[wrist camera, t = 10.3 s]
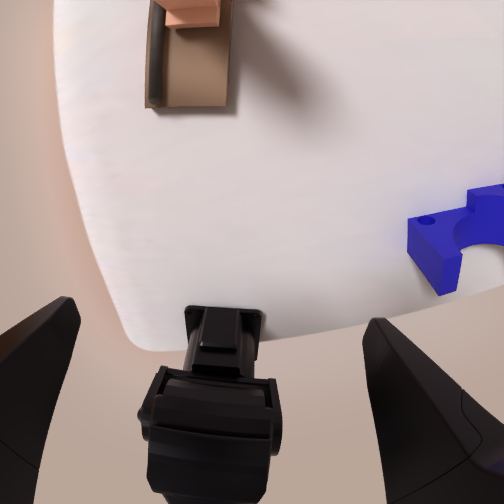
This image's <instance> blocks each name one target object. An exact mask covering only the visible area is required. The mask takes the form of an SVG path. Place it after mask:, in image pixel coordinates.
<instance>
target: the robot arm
mask: <svg viewBox="0 0 504 504" xmlns="http://www.w3.org/2000/svg"><path fill="white" fill-rule="evenodd" d="M189 311H192V312H189ZM184 314H185V322H186V330H187V338H188V349H187V353H186V358H185V362H184V367H183V370H178V369H172V368H168V367H166V366H161V367H160V369H159V371H158V373H156V375H155V377H154V379H153V381H152V384H151V386H150V388H149V390H148V393H147V395H146V397H145V399H144V402H143V405H142V407H141V408H140V409H139V411H138V414H137V417H138V419H139V420H140V422H141V426H142V435H143V439H144V440H145V441H149V443H148V445H149V446H148V467H147V480H148V482H149V484H150V486H151V489H152V490H153V492H156V493H161V494H162V495H163V496H164V498H165V499H166V501H167V502H168V504H257V503H258V502H259V501H260V499H261V498H262V497H263V495H264V494H265V492H266V485H267V481H268V473H269V465H270V457H271V456H276V455H278V452H279V450H280V446H281V440H282V412H281V406H280V400H279V395H278V389H277V384H276V379H272V378H269V379H255V378H254V361H256V360H257V355H258V346H259V337H260V328H261V318H262V314H261V312H260V311H259V310H251V309H233V308H218V307H204V306H191V305H190V306H186V308H185V311H184ZM254 315H257V316H254ZM80 324H81V317H80V314H79V312H78V309H77V306H76V304H75V301H74V299H73V298H71V297H65V296H61V297H59V298H57V299H56V300H54V301H53V302H51V303H49V304H48V305H46V306H45V307H43V308H41V309H40V310H38V311H37V312H35V313H34V314H32V315H30V316H29V317H27V318H26V319H24V320H23V321H21V322H20V323H18V324H17V325H15V326H14V327H12V328H10V329H9V330H7V331H6V332H4V333H3V334H1V335H0V504H33V502H34V496H35V489H36V483H37V479H38V473H39V468H40V463H41V459H42V454H43V450H44V446H45V441H46V438H47V434H48V430H49V426H50V423H51V419H52V416H53V413H54V409H55V406H56V402H57V399H58V396H59V393H60V390H61V387H62V384H63V381H64V378H65V375H66V372H67V370H68V367H69V363H70V360H71V357H72V352H73V349H74V345H75V341H76V338H77V334H78V331H79V328H80ZM362 345H363V353H364V361H365V369H366V379H367V388H368V393H369V398H370V403H371V408H372V412H373V418H374V423H375V428H376V434H377V439H378V445H379V451H380V457H381V463H382V470H383V477H384V483H385V491H386V499H387V504H504V424H503V423H501V422H500V421H499V420H498V419H496V418H495V417H494V416H493V415H491V414H490V413H489V412H488V411H487V410H486V409H484V408H483V407H482V406H481V405H480V404H479V403H478V402H477V401H475V400H474V399H473V398H472V397H471V396H470V395H469V394H468V393H467V392H466V391H465V390H464V389H462V388H461V387H460V386H459V385H458V384H457V383H456V382H455V381H454V380H453V379H452V378H451V377H450V376H449V375H448V374H447V373H445V372H444V371H443V370H442V369H441V368H440V367H439V366H438V365H437V364H436V363H435V362H434V361H433V360H431V359H430V358H429V357H428V356H427V355H426V354H425V353H424V352H423V351H422V350H420V349H419V348H418V347H417V346H416V345H415V344H414V343H413V342H412V341H410V340H409V339H408V338H407V337H406V336H405V335H404V334H403V333H401V332H400V331H399V330H398V329H397V328H396V327H395V326H393V325H392V324H391V323H390V322H389V321H388V320H387V319H385V318H372V319H371V320H370V322H369V324H368V327H367V329H366V331H365V334H364V336H363V341H362Z"/></svg>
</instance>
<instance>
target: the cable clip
mask: <svg viewBox="0 0 504 504" xmlns="http://www.w3.org/2000/svg"><path fill="white" fill-rule="evenodd" d="M475 244H497V245H502V246H504V184H499V185H493V186H487V187H481V188H475V189H470V190H467V205H466V207H462V208H458V209H453V210H448V211H443V212H438V213H434V214H429V215H424V216H419V217H414V218H409V219H408V242H407V252H408V254H409V255H410V256H411V258H412V259H413V260H414V262H415V263H416V264H417V266H418V267H419V269H420V270H421V271H422V273H423V274H424V275H425V277H426V278H427V280H428V281H429V283H430V284H431V286H432V287H433V288H434V290H435V291H436V293H437V294H438V296H441V295H445V294H448V293H451V292H454V291H456V289H457V284H458V279H459V273H460V268H461V262H462V255H463V254H462V253H461V252H460V250H461V249H463V248H465V247H468V246H471V245H475Z"/></svg>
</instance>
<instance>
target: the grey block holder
mask: <svg viewBox="0 0 504 504" xmlns="http://www.w3.org/2000/svg"><path fill="white" fill-rule="evenodd" d="M233 2H234V0H221V6H220V19H219V27H193V28H179V29H170V28H169V27H167V26H165V23H166V12H167V10H166V9H164V8H163V7H162V6H161V5H159V4H158V3H157V2H155V1H154V0H150V7H149V18H148V30H147V45H146V66H145V108H158V107H182V106H227V98H228V79H229V61H230V44H231V29H232V15H233Z"/></svg>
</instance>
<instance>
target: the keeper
mask: <svg viewBox="0 0 504 504" xmlns="http://www.w3.org/2000/svg"><path fill="white" fill-rule="evenodd" d="M154 1H155V2H157V3H158V4H159V5H161V6H162V7H163V8H164V9H166V10H167V12H166V23H165V26H167V27H169V28H170V29H179V28H193V27H219V19H220V6H221V0H154Z"/></svg>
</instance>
